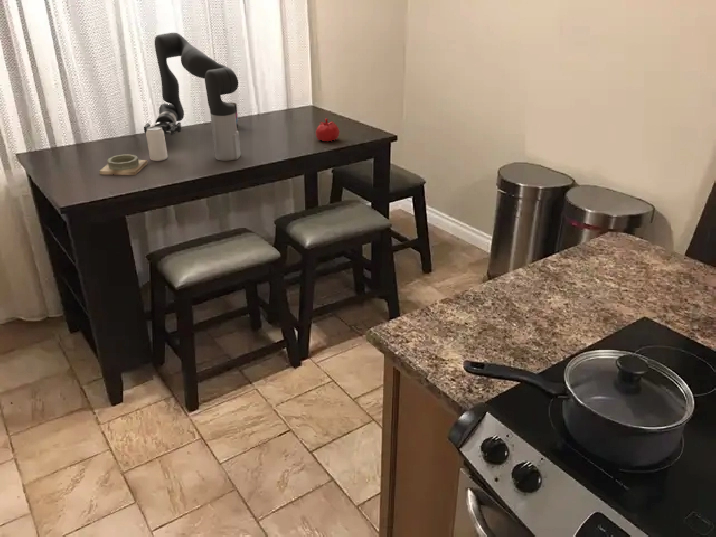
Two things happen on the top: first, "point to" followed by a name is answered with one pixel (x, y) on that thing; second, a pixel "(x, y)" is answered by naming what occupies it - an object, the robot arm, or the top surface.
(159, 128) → the can
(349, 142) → the top surface
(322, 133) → the pomegranate
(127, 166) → the can holder
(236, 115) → the supplement container
